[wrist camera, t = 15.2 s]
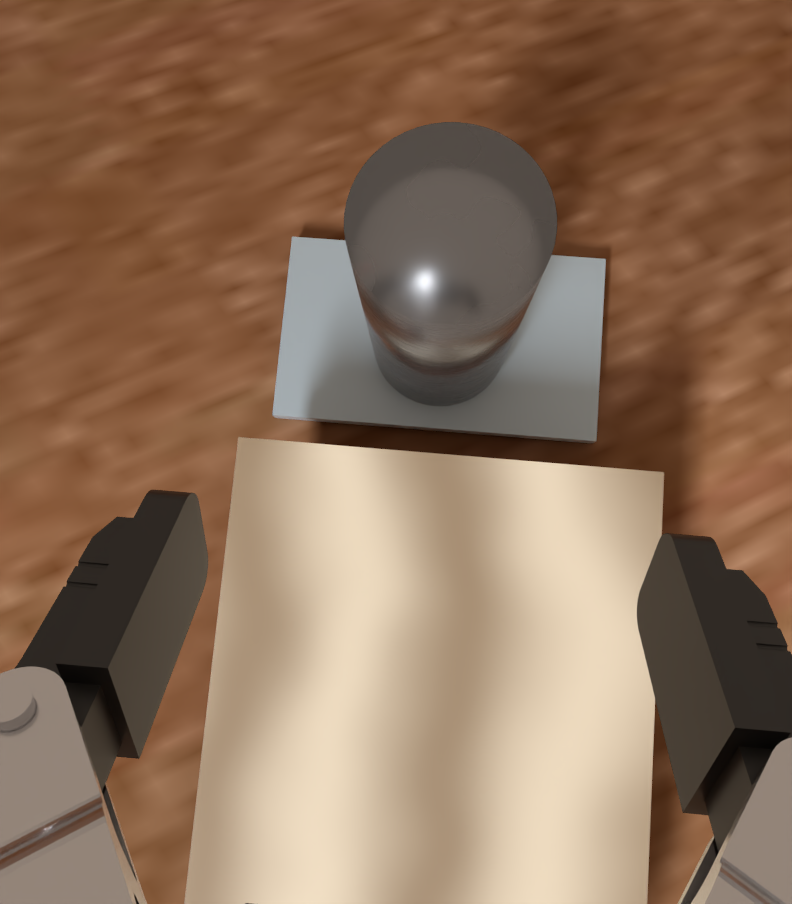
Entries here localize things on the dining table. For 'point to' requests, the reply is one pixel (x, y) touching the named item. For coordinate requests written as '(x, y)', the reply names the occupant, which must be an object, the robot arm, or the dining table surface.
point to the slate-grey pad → (489, 413)
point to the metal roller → (447, 255)
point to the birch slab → (427, 682)
